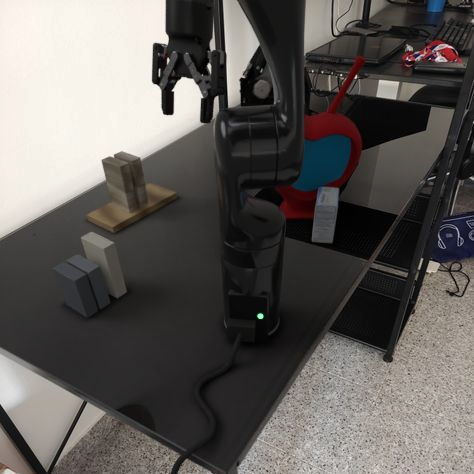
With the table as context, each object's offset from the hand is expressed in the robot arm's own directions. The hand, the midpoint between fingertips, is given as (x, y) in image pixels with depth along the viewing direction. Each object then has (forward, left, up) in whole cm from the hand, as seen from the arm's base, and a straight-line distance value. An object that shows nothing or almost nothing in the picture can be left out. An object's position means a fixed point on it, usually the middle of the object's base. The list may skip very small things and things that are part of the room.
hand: (186, 118), depth 75 cm
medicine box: (+5, -27, -24) cm, 36 cm away
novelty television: (+15, -22, -24) cm, 36 cm away
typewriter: (+45, -18, -24) cm, 54 cm away
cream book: (-19, +12, -24) cm, 33 cm away
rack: (+11, +17, -24) cm, 31 cm away
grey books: (-24, +15, -24) cm, 37 cm away
